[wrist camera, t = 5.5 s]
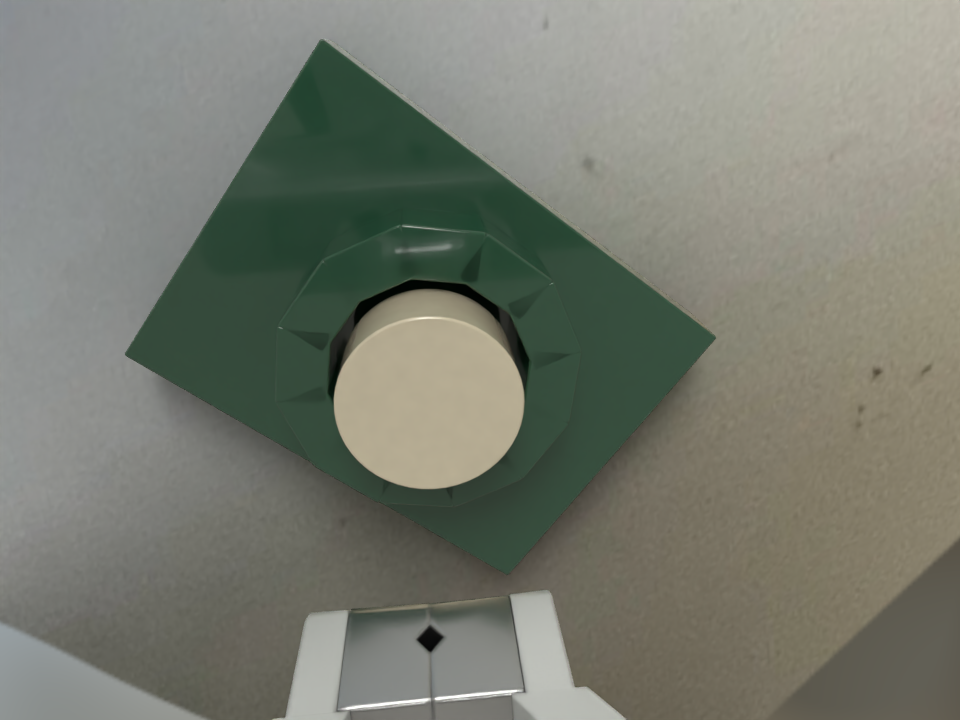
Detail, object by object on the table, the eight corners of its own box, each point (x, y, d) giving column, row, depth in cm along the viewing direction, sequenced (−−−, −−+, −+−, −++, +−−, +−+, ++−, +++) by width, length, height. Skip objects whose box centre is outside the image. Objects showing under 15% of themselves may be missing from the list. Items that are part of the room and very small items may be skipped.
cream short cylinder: (309, 389, 18) (296, 429, 16) (407, 253, 17) (405, 278, 15) (448, 473, 19) (451, 520, 17) (547, 350, 18) (563, 385, 16)
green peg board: (149, 328, 21) (90, 388, 17) (331, 39, 18) (308, 35, 15) (501, 536, 24) (516, 624, 20) (692, 313, 22) (748, 367, 18)
